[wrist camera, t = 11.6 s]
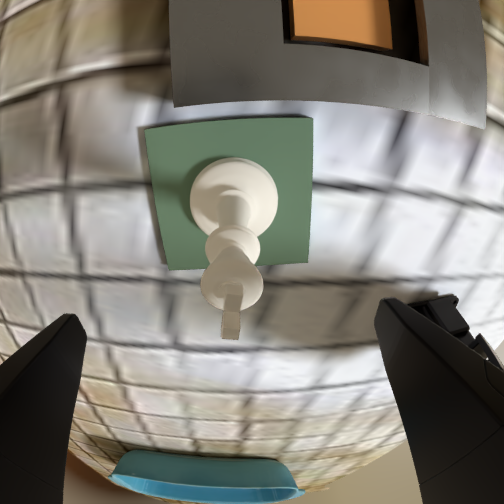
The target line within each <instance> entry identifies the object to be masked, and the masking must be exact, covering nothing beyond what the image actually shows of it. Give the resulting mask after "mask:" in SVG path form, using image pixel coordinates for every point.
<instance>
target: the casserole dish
mask: <svg viewBox="0 0 504 504" xmlns="http://www.w3.org/2000/svg"><path fill="white" fill-rule="evenodd" d="M108 478H109V479H110V480H112V481H113V482H115V483H117V484H119V485H121V486H124V487H126V488H129V489H131V490H134V491H136V492H140V493H143V494H147V495H151V496H156V497H162V498H168V499H175V500H182V501H191V502H201V503H215V504H265V503H274V502H280V501H284V500H288V499H292V498H295V497H299V496H301V495H303V494H304V493H305V490H303V489H298V487H297V485H296V483H295V481H294V479H293V477H292V475H291V473H290V471H289V470H288V468H287V467H286V466H285V465H284V464H282V463H280V462H278V461H276V460H271V459H240V458H215V457H200V456H190V455H180V454H171V453H163V452H155V451H147V450H132V451H129V452H127V453H126V454H124V455H123V456H122V458H121V459H120V460H119V462H118V464H117V466H116V467H115V469H114V471H113V472H112V475H109V476H108Z"/></svg>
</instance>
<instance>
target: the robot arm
mask: <svg viewBox="0 0 504 504" xmlns="http://www.w3.org/2000/svg"><path fill="white" fill-rule="evenodd" d="M458 301H459V299H458V298H457V296H451V297H446V298H440V299H435V300H429V301H424V302H418V303H412V304H408V305H406V304H405V303H403V302H402V301H400V300H398V299H397V298H395V297H389V298H383V299H381V301H380V303H379V306H378V310H377V313H376V316H375V320H374V325H375V330H376V334H377V338H378V341H379V345H380V349H381V354H382V358H383V362H384V366H385V370H386V373H387V376H388V379H389V382H390V385H391V388H392V391H393V394H394V397H395V400H396V403H397V406H398V409H399V412H400V416H401V419H402V422H403V426H404V429H405V432H406V436H407V439H408V443H409V446H410V450H411V454H412V458H413V462H414V466H415V469H416V474H417V477H418V482H419V484H420V485H419V487H420V492H421V497H422V501H423V504H504V366H503V364H502V362H501V361H500V359H499V358H498V356H497V355H496V353H495V352H494V350H493V349H492V347H491V346H490V345H489V343H488V342H487V341H486V340H485V338H484V337H483V336H482V335H481V334H480V333H479V334H478V335H477V336H476V337H475V338H476V339H474V338H473V336H472V335H471V333H470V332H469V329H470V328H469V325H468V324H467V323H466V321H465V320H464V318H463V317H462V316H461V314H460V313H459V312H458V310H457V309H456V306H457V304H458ZM86 342H87V335H86V332H85V330H84V328H83V326H82V324H81V322H80V320H79V318H78V317H77V316H76V315H75V314H68V313H66V314H63V315H62V316H60V317H59V318H58V319H56V320H55V321H54V322H52V323H51V324H50V325H49V326H47V327H46V328H45V329H43V330H42V331H41V332H40V333H38V334H37V335H36V336H35V337H33V338H32V339H31V340H30V341H28V342H27V343H26V344H25V345H24V346H22V347H21V348H20V349H19V350H17V351H16V352H15V353H14V354H13V355H11V356H10V357H9V358H8V359H7V360H6V361H4V362H3V363H2V364H1V365H0V504H63V488H64V476H65V466H66V457H67V450H68V443H69V436H70V430H71V424H72V419H73V413H74V408H75V403H76V398H77V394H78V389H79V385H80V379H81V373H82V366H83V360H84V354H85V348H86ZM487 357H488V360H486V358H487Z"/></svg>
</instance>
